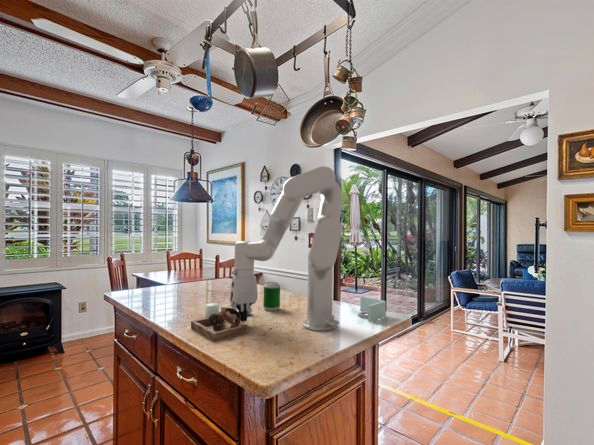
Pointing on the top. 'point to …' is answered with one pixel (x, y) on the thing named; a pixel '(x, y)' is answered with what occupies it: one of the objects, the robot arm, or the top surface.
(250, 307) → the grey ball
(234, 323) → the pottery mug
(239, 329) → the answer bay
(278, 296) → the soda can
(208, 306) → the pale green capsule
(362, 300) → the l-shaped corner panel
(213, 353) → the top surface
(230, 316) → the birch block
